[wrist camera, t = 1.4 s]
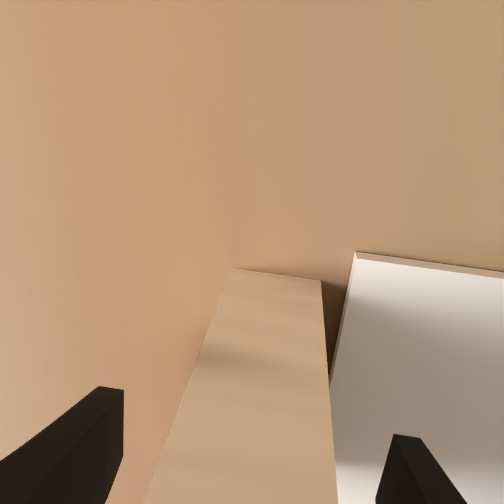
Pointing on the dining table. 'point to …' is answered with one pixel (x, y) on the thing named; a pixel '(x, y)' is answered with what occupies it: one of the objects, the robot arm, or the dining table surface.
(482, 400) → the mat
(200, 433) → the tall beige block
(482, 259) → the dining table surface
